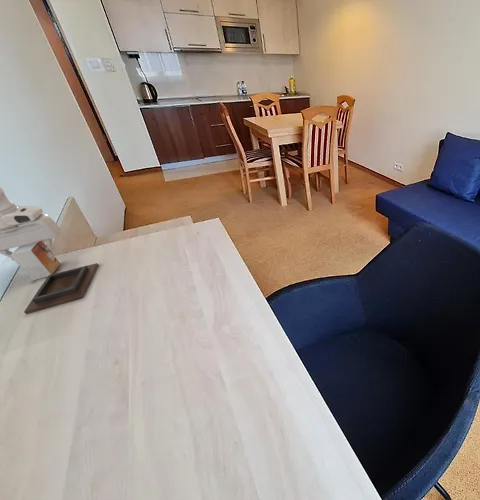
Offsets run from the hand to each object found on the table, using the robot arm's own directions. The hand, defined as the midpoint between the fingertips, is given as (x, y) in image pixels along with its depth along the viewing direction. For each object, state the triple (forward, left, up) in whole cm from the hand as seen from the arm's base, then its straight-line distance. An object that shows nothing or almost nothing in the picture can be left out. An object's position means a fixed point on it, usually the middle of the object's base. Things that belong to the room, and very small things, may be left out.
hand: (34, 254), depth 99 cm
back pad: (+9, -14, -7) cm, 18 cm away
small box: (0, 0, -7) cm, 7 cm away
